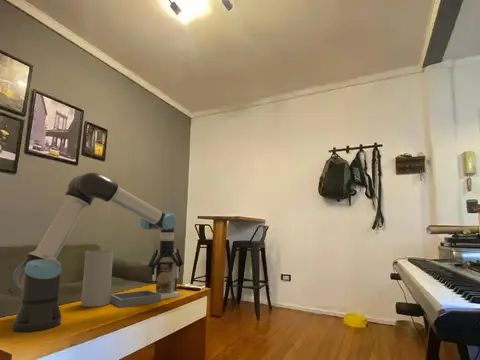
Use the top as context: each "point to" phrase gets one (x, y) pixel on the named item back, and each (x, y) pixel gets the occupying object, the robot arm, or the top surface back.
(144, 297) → the bin
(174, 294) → the board
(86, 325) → the top surface
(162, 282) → the coffee box
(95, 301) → the cylinder vase
